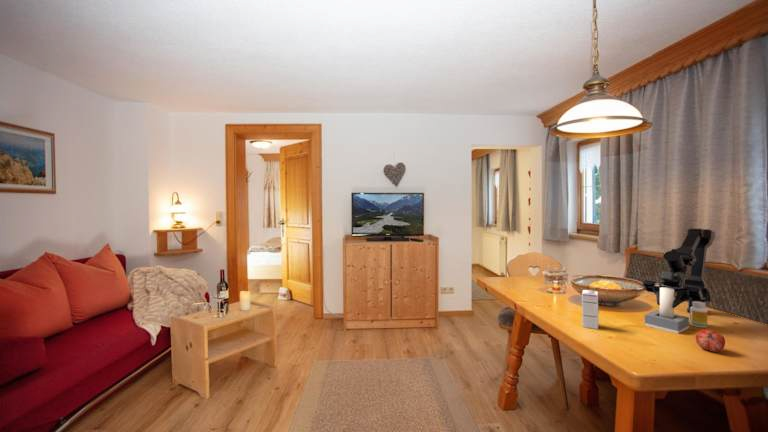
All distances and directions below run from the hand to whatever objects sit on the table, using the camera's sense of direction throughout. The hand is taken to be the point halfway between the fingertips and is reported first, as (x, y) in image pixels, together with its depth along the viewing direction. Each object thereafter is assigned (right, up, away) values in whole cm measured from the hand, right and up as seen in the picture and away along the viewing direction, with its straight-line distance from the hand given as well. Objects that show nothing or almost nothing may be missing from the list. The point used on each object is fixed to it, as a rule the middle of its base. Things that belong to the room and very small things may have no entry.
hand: (665, 305), depth 138 cm
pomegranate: (-2, -10, -21) cm, 23 cm away
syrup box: (-29, -9, +3) cm, 31 cm away
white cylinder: (+1, -7, +1) cm, 7 cm away
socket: (+1, -9, +1) cm, 9 cm away
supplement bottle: (+15, -9, +2) cm, 18 cm away
